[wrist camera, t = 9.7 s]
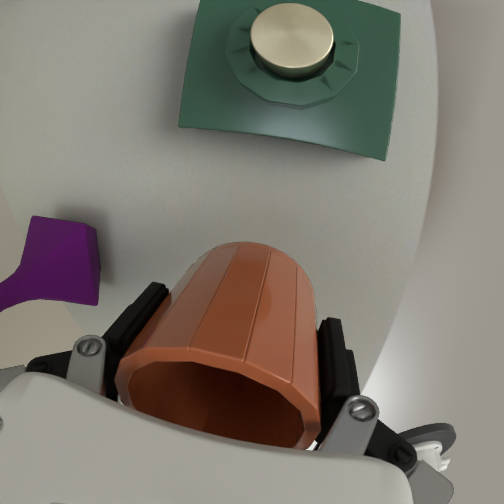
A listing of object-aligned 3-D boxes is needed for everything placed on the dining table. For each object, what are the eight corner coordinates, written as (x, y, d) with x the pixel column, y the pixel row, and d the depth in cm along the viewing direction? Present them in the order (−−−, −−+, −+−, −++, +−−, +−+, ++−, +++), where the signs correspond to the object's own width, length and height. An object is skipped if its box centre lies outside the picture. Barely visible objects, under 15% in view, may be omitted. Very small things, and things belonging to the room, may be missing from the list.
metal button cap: (331, 25, 10) (336, 9, 8) (324, 84, 11) (329, 75, 9) (261, 16, 10) (256, -1, 8) (252, 73, 12) (244, 63, 10)
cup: (330, 256, 12) (355, 376, 6) (297, 360, 15) (290, 472, 8) (186, 229, 13) (95, 317, 6) (184, 337, 15) (134, 434, 9)
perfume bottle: (64, 273, 25) (-52, 373, 8) (54, 205, 22) (-93, 289, 5) (116, 288, 24) (-9, 425, 8) (108, 212, 21) (-73, 330, 5)
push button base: (386, 29, 12) (410, 2, 8) (371, 157, 16) (396, 164, 12) (216, 5, 13) (193, -26, 9) (196, 128, 17) (163, 126, 13)
